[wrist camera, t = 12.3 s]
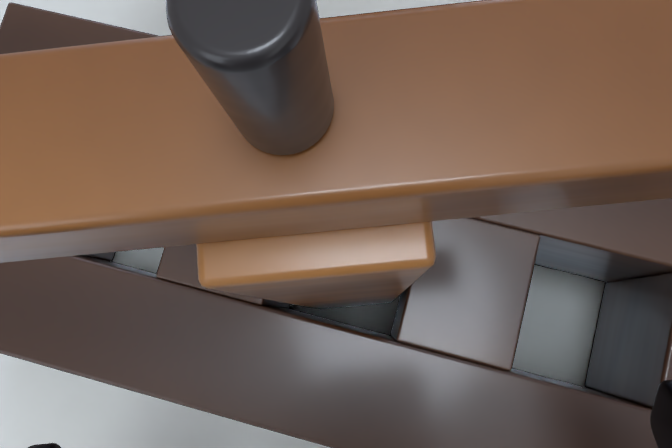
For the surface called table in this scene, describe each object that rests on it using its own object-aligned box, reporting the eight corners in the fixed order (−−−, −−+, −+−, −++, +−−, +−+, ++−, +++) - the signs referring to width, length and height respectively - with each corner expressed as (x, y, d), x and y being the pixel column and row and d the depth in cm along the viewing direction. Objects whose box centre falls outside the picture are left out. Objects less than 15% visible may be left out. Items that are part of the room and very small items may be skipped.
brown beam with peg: (476, 294, 18) (1115, 149, 2) (235, 317, 18) (-516, 306, 3) (467, 219, 18) (977, -318, 3) (230, 242, 18) (-465, -131, 3)
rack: (658, 504, 17) (761, 571, 12) (8, 322, 18) (-107, 323, 14) (710, 218, 18) (822, 185, 13) (91, 72, 20) (7, 0, 15)
